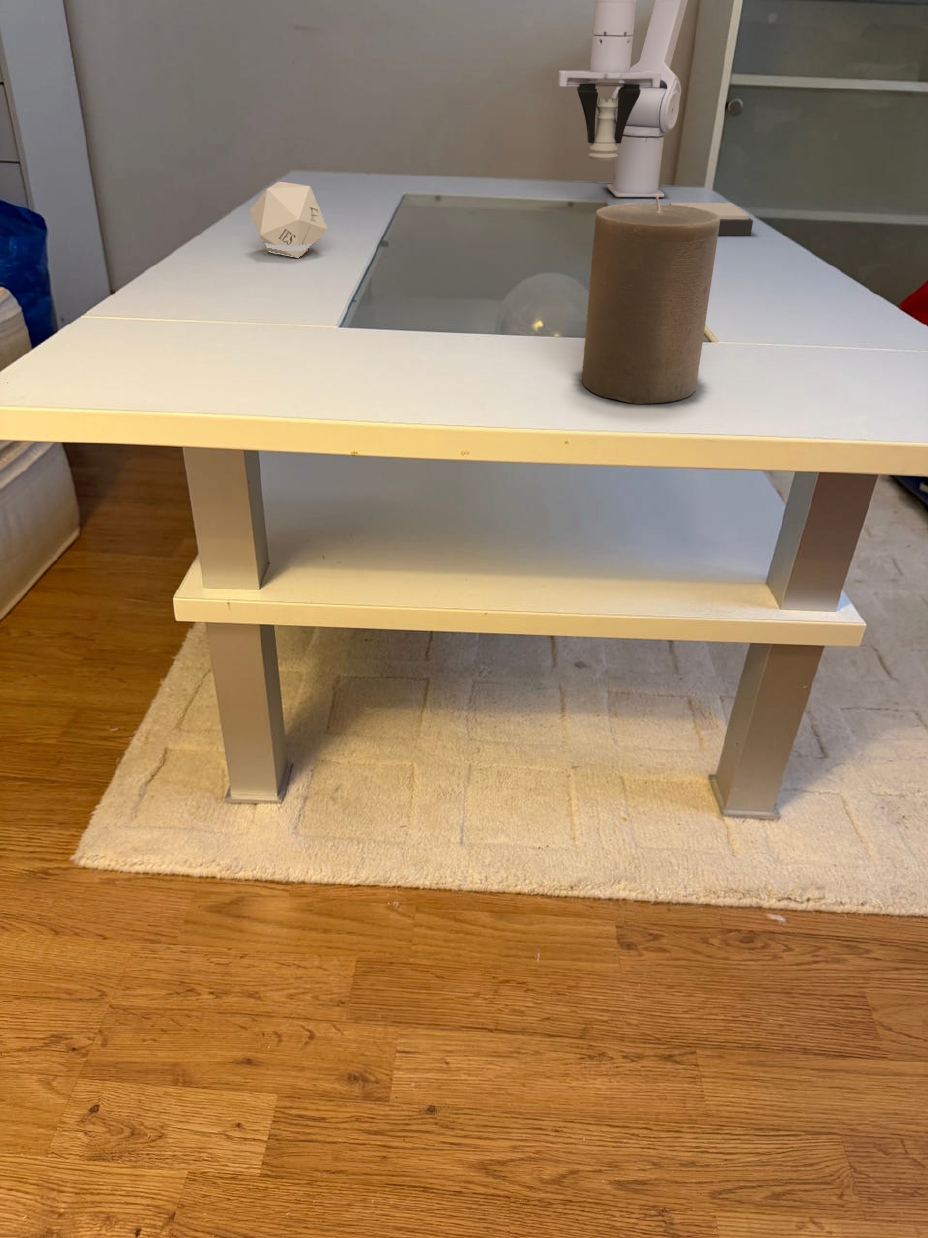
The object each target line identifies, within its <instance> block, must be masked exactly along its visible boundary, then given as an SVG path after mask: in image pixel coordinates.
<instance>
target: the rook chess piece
mask: <svg viewBox="0 0 928 1238" xmlns="http://www.w3.org/2000/svg"><path fill="white" fill-rule="evenodd" d="M617 107H618V104H617V103H616V98H614V99H613V98H612V97H609V98H608V97H598V101H597V106H596V110H597V111H598V114H597V116H596V119H597V123H596V128H595V139H594V143H590V145H589V148H588V149H589V151H590V153H589V154H588V155H587V156H588V157H589V159H590V160H591V161H598V162H599V161H600V162H601V161H602V162H606V161H607V162H609V161H611V162H612V161H615V159H616V158H617V156H618V155H617V154H616V151H617V150H618V146H617V143H615V142H616V140H615V138H614V137H615V129H614V119H615V118H616V117H615V110H616V109H617Z"/></svg>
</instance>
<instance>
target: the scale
mask: <svg viewBox="0 0 928 1238" xmlns="http://www.w3.org/2000/svg"><path fill="white" fill-rule="evenodd" d="M669 205H680V206H688V207H694V208H698V209H702V210H709V211H713V212H714V213H717V214H718V215H719V216H720V225H719V232H718V237H721V236H723V237H727V236H728V237H732V236H733V237H734V236H735V237H740V236H741V237H745V236H746V237H749V236H752V230H753V223H754V220H753V219H752V218H751V217H750V214H748V213H747V212H745V211H744V210H743V209H741V208H740V207H738V206H737V205H735V203H732V202H670V203H669Z"/></svg>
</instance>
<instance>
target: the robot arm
mask: <svg viewBox="0 0 928 1238" xmlns="http://www.w3.org/2000/svg"><path fill="white" fill-rule="evenodd" d="M688 1H689V0H654V5H653V8H652V12H651V15H650V19H649V23H648V28H647V31H646V34H645V39H644V43H643V46H642V50H641V55H640V58H639V60H638V62H637V63H635V64H633V65H632V66H631V63H632V61H631V60H632V54H633V53H632V52H633V42H634V32H635V31H634V30H635V22H636V21H635V20H636V11H637V0H594V9H593V10H594V11H593V23H592V35H591V36H592V39H591V49H590V50H591V51H590V52H591V53H590V63H589V69H587V70H586V69H585V70H584V69H583V70H558V78H557V79H558V80H557V86H558V87H559V88H566V87H576V90H577V94H578V99H579V101H580V104H581V107H582V111H583V115H584V120H585V126H586V133H587V135H586V136H587V143H588V144H592V143H594V139H595V134H596V114H597V107H596V106H597V104H598V100H599V93H598V88H599V87H601V88H602V87H603V88H606V87H607V88H609V87H610V88H615V89H614V92H613V93H612V95H611V98H613V99H614V98H616V103H617V104H618V107H617V109H616V110H615V117H616V118H615V119H614V138H615V140H616V142H615V143H616V145H617V146H618V150H617V151H616V152H615V153H616V154H617V155H618V156H617V158H616V159H615V160H614V168H613V179H612V184H609V183H608V184H606V188H607V189H608V190H609V191H610V192H611V193H612V194H613V195H614V197H616V198H656V195H658V198H665V193H664V192H663V191H661V190H660V189H659V187H660V178H661V177H660V176H661V168H662V160H663V159H662V158H663V150H664V141H665V136H666V135H668V134H669V133H670V132H671V131H672V130H673V129H674V127H675V125H676V123H677V120H678V116H679V111H680V99H681V95H682V86H681V82H680V79H679V78H678V76H677V75H676V73H674V72H673V70H672V69H671V65H672V62H673V57H674V54H675V50H676V46H677V43H678V39H679V35H680V31H681V28H682V24H683V20H684V17H685V13H686V9H687V6H688V3H689V2H688ZM598 80H610V81H611V80H614V81H615V80H617V81H618V80H619V81H618V82H600V81H599V82H598ZM596 87H598V88H596Z"/></svg>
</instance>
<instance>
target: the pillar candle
mask: <svg viewBox="0 0 928 1238" xmlns="http://www.w3.org/2000/svg"><path fill="white" fill-rule="evenodd" d="M659 198H660V197H658V195H656V197H655V201H656V203H651V202H648V203H647V202H646V203H645V202H628V203H620V204H613V205H612V204H611V205H607V206H603V207H601V208H598V209H597V210H596V212H595V219H594V230H593V231H594V232H593V241H592V242H593V243H592V256H591V266H590V275H589V289H588V300H587V310H586V323H585V335H584V347H583V359H582V360H583V361H582V369H581V370H582V371H581V377H582V382H583V385H584V387H585V388H586V389H587V390H588V391H590V392H591V393H593V394H596V395H598V396H600V397H603V398H606V399H607V398H609V399H611V400H617V401H620V402H624V403H630V404H634V405H645V404H646V405H647V404H664V403H671V402H675V401H679V400H684V399H686V398H689V397H690V396H692V395H693V394H694V393H695V391H696V389H697V385H698V377H699V370H700V363H701V356H702V350H703V343H704V336H705V328H706V320H707V315H708V314H707V313H708V307H709V301H710V294H711V287H712V280H713V273H714V266H715V259H716V253H717V244H718V239H719V236H718V232H719V225H720V216H719V215H718V214H717V213H714V212H713V211H709V210H702V209H698V208H694V207H688V206H680V205H670V204H666V203H660V199H659Z"/></svg>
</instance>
